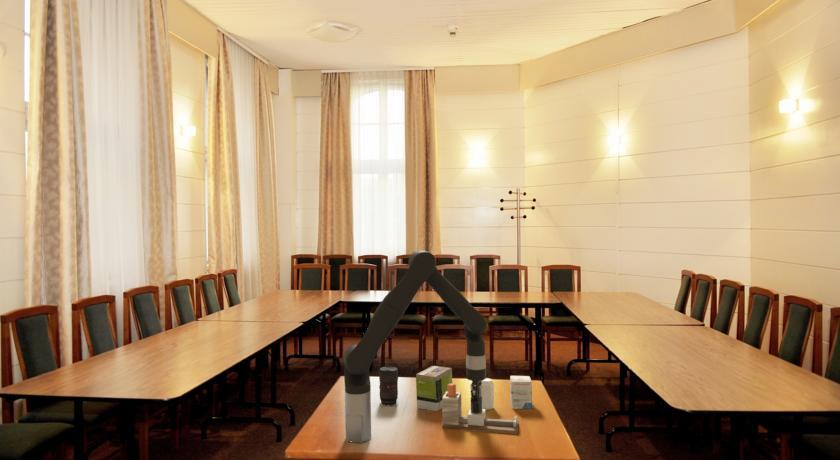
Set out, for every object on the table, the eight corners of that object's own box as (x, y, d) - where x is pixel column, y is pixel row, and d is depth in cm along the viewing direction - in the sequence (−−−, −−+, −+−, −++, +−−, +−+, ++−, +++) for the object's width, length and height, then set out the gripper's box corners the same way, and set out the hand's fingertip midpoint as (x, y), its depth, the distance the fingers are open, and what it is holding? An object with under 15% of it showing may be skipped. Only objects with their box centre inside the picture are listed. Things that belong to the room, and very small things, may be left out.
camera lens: (397, 406, 222) (397, 371, 222) (378, 406, 222) (378, 371, 222) (398, 399, 230) (398, 366, 230) (380, 400, 230) (380, 366, 230)
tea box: (433, 397, 232) (433, 364, 232) (453, 401, 227) (453, 367, 227) (415, 408, 219) (415, 373, 219) (436, 412, 214) (436, 376, 214)
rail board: (517, 434, 191) (516, 403, 191) (442, 428, 197) (441, 398, 197) (518, 424, 200) (518, 394, 200) (447, 418, 207) (446, 390, 207)
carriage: (483, 425, 195) (483, 400, 195) (467, 424, 196) (467, 399, 196) (485, 419, 202) (485, 394, 202) (470, 417, 203) (469, 393, 203)
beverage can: (493, 411, 215) (493, 382, 214) (478, 410, 216) (477, 381, 216) (494, 406, 221) (494, 377, 221) (479, 405, 222) (479, 377, 222)
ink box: (530, 402, 225) (530, 375, 224) (532, 409, 216) (532, 381, 216) (510, 402, 225) (509, 375, 225) (511, 408, 217) (511, 380, 217)
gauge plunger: (455, 412, 199) (455, 386, 199) (447, 411, 200) (446, 385, 200) (456, 409, 202) (456, 383, 202) (448, 408, 203) (448, 383, 203)
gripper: (483, 371, 191) (484, 418, 191) (487, 361, 205) (488, 405, 205) (463, 370, 193) (464, 417, 193) (468, 361, 207) (469, 404, 207)
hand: (476, 411), depth 199 cm, fingers closed on carriage, 3 cm apart
